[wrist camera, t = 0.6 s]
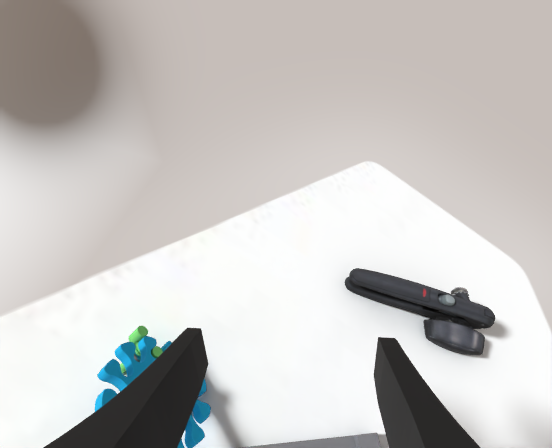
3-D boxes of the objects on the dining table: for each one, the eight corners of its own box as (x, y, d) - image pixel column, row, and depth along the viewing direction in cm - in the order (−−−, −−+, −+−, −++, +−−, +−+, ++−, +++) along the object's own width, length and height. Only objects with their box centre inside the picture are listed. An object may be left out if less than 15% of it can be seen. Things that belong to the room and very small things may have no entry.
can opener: (469, 314, 40) (502, 296, 35) (474, 365, 35) (512, 352, 31) (346, 261, 41) (363, 238, 37) (336, 304, 36) (354, 283, 32)
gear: (231, 437, 25) (118, 480, 17) (185, 475, 26) (59, 531, 18) (191, 325, 31) (96, 317, 23) (155, 358, 32) (54, 362, 24)
